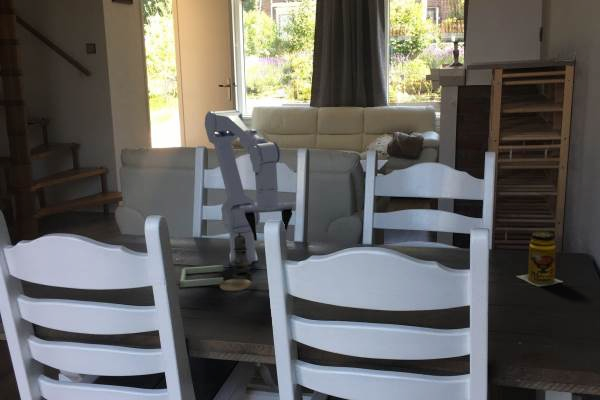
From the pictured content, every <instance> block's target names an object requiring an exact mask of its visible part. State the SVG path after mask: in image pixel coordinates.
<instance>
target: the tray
mask: <svg viewBox="0 0 600 400" xmlns="http://www.w3.org/2000/svg"><path fill="white" fill-rule="evenodd" d="M215 272H217V273H218V272H224V264H219V265H208V266H206V265H205V266H194V267H193V266H192V267H191V266H190V267H182V270H181V274H180V281H179V285H180V288H186V287H187V288H189V287H200V286H211V285H220V283H222V282H223V281H224V277H223V276H222V277H211V278H201V279H200V278H199V279H198V278H197V279H188V280H186V276H187V275H190V274H202V273H215Z"/></svg>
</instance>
